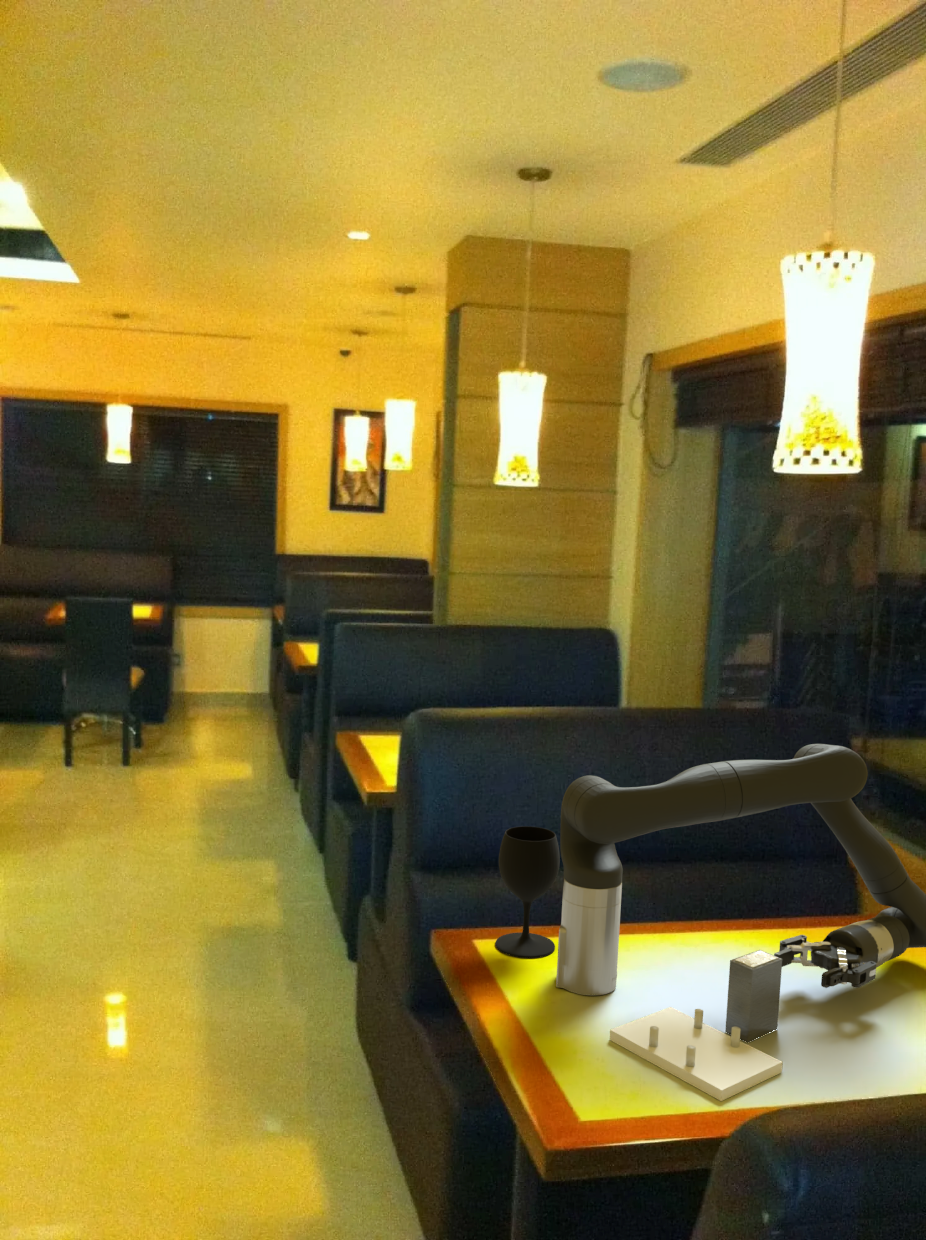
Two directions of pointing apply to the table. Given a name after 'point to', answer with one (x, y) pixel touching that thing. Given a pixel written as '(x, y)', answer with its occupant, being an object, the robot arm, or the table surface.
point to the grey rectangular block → (753, 994)
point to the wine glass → (528, 883)
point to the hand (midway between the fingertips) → (799, 971)
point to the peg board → (697, 1052)
